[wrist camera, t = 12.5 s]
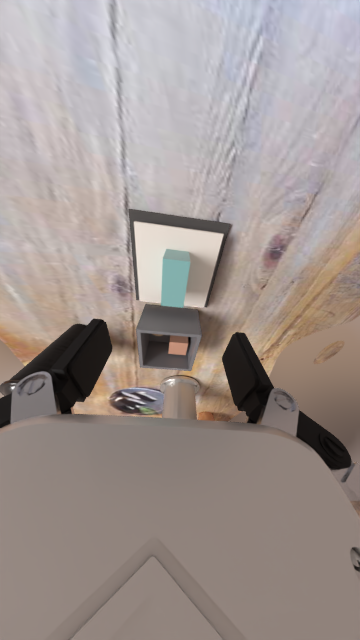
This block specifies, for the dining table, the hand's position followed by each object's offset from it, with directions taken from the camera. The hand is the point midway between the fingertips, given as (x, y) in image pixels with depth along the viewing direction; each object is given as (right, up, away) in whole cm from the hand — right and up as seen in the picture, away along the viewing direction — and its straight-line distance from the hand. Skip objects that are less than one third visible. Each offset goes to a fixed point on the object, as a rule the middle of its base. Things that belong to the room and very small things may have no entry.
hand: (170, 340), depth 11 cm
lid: (0, +10, +11) cm, 15 cm away
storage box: (-1, 0, +19) cm, 19 cm away
